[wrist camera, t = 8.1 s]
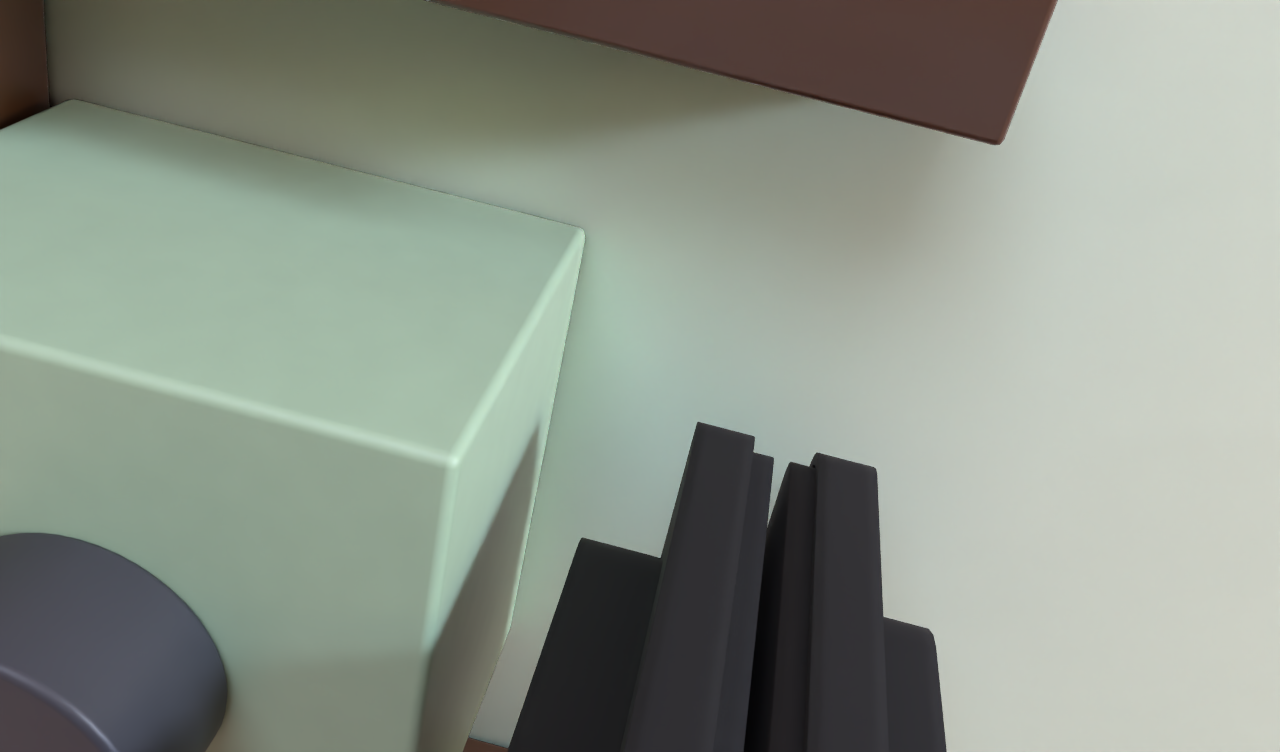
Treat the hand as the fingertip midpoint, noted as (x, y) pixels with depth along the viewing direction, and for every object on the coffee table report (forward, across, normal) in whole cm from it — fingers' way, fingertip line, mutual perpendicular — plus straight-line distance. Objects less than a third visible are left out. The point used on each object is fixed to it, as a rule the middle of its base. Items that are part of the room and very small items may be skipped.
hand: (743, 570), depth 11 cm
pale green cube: (+1, +5, 0) cm, 5 cm away
